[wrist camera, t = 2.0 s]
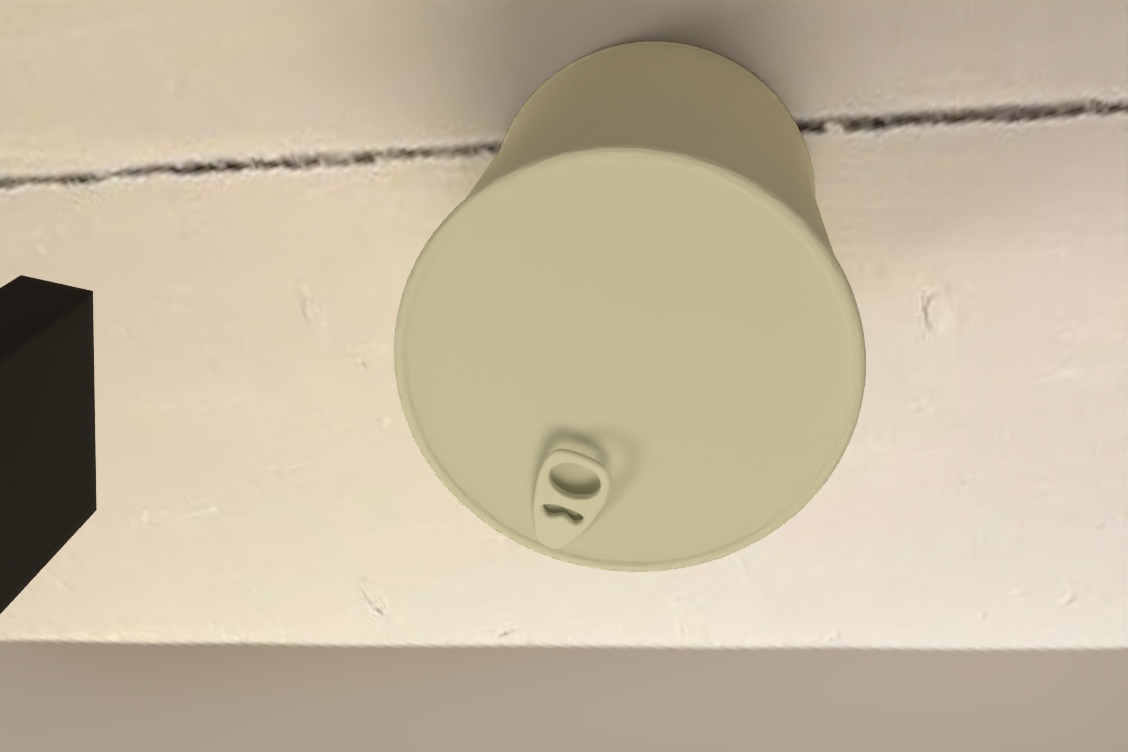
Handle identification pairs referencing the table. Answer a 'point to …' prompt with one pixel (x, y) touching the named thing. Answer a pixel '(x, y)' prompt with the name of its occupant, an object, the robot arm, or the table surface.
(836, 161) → the table surface
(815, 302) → the can
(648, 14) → the table surface
